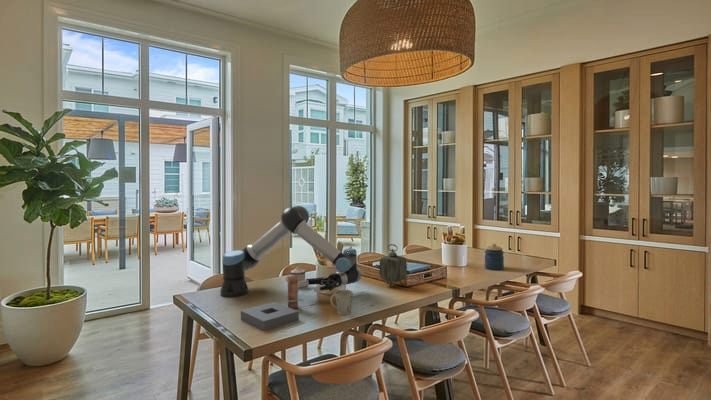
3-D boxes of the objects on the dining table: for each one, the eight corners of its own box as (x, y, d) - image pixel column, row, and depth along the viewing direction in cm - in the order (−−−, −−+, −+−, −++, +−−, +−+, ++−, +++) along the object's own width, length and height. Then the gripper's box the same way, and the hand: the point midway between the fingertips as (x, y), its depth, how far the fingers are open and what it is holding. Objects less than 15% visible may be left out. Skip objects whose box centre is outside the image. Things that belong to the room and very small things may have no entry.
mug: (346, 317, 180) (346, 295, 180) (324, 312, 187) (324, 292, 187) (356, 312, 188) (356, 291, 187) (334, 307, 194) (334, 287, 194)
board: (240, 319, 180) (240, 310, 180) (274, 310, 192) (274, 301, 192) (263, 330, 165) (263, 321, 165) (298, 319, 178) (298, 311, 178)
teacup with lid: (303, 283, 243) (303, 264, 242) (307, 287, 234) (307, 267, 234) (284, 285, 238) (283, 266, 237) (287, 289, 229) (287, 269, 229)
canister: (486, 270, 272) (486, 244, 271) (483, 266, 284) (483, 242, 284) (505, 270, 270) (505, 245, 269) (501, 266, 282) (502, 242, 282)
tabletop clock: (407, 286, 232) (406, 244, 231) (398, 289, 225) (398, 246, 224) (387, 282, 241) (386, 242, 240) (378, 285, 235) (377, 244, 233)
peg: (286, 308, 195) (285, 276, 194) (294, 305, 198) (293, 274, 198) (291, 310, 191) (291, 277, 191) (300, 308, 195) (299, 276, 194)
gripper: (353, 290, 206) (321, 299, 191) (322, 282, 224) (292, 290, 209) (353, 276, 205) (321, 284, 191) (322, 269, 223) (291, 276, 209)
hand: (306, 287), depth 200 cm, fingers open, 13 cm apart
